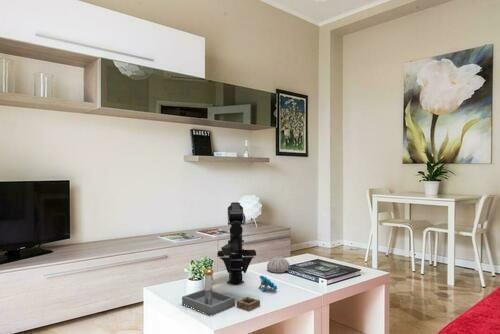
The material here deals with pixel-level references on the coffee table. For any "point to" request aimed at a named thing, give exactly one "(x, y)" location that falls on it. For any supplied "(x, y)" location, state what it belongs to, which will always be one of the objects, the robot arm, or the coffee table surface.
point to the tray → (218, 304)
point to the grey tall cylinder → (208, 286)
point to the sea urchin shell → (278, 265)
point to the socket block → (248, 303)
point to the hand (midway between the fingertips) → (236, 272)
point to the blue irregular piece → (266, 283)
